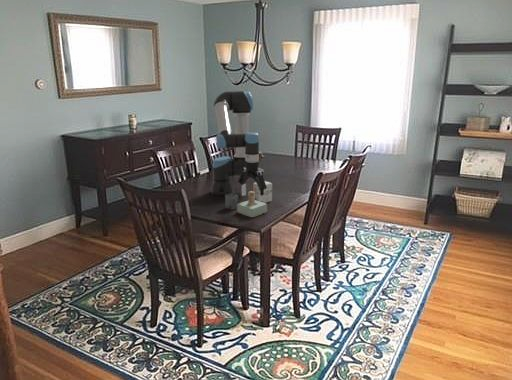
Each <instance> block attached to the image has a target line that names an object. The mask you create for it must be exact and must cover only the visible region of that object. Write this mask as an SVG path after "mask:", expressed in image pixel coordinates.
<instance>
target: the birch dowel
mask: <svg viewBox="0 0 512 380" xmlns="http://www.w3.org/2000/svg"><path fill="white" fill-rule="evenodd" d="M247 197H248V199H247V201H248V205H251V206H254V205H255V192H254V191H253V190H251V191H248V192H247Z"/></svg>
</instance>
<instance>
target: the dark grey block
mask: <svg viewBox="0 0 512 380" xmlns="http://www.w3.org/2000/svg"><path fill="white" fill-rule="evenodd" d="M224 204H225V206H224V207H225V209H227V210H230V211H233V210H237V204H239V194H237V193H230V194H227V195H225V196H224Z"/></svg>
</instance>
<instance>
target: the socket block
mask: <svg viewBox="0 0 512 380" xmlns="http://www.w3.org/2000/svg"><path fill="white" fill-rule="evenodd" d="M236 210H237V211H236V212H237V213H238V214H242V215H243V216H246V217H250V218H252V217H253V218H255V217H258V216H261V215H263V213H264V214H266V213H268V204H267V203H263V202H259V201H256V200H255V205H254V206H251V205H248V200H246V201H243V202H242V201H241V202H238V204H237V209H236Z"/></svg>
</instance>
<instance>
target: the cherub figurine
mask: <svg viewBox="0 0 512 380" xmlns="http://www.w3.org/2000/svg"><path fill="white" fill-rule="evenodd" d="M264 159H265V155H263V153H262V152H261V151H259V161H258V162H259V163H261V162H262V161H264ZM260 171H262V173H264V172H265V170H264V169H263V168H262V167H259V168H258V172H260Z"/></svg>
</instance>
